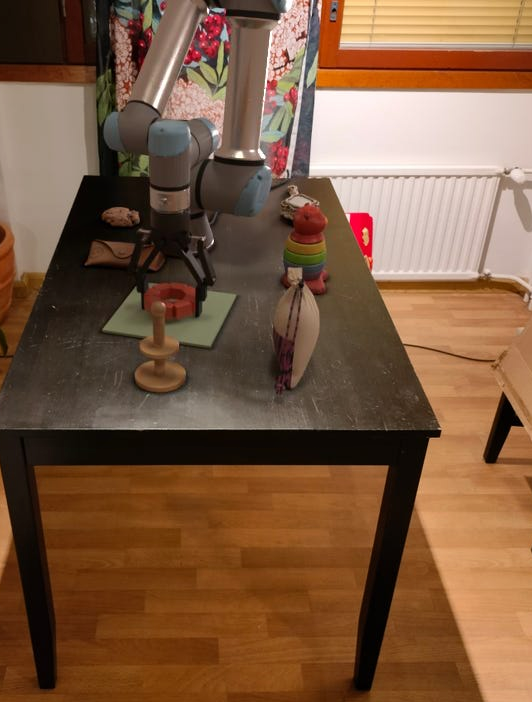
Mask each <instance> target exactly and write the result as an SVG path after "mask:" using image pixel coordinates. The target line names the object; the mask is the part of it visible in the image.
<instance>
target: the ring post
mask: <svg viewBox="0 0 532 702" xmlns="http://www.w3.org/2000/svg"><path fill="white" fill-rule="evenodd" d="M150 310H151V313H152V316H153V335H152V336H149V337H146V338H145V339H144V338H142V340H141V341H140V342H139V352H140V353H141V354H142V355H143V356H144V357H146V358H150V359H153V360H149V361H147V362H144V363H142V364H140V365H139V366H138V367H137V368H136V370H135V371H134V382H135V384H136V385H137V386H138V387H139V388H140V389H142V390H145V391H147V392H151V393H167V392H171V391H174V390H177V389H179V388H180V387H182V386H183V385H184V383H185V382H186V379H187V378H186V376H187V375H186V370H185V368H184V366H182V364H179V363H178V362H175V361H173V360H169V358H171V357H173V356H175V355H176V354H177V353H178V352H179V349H180V344H179V343H178V341H177V340H176V339H175V338H173V337H171V336H168V335H165V321H164V314H165V312H166V306H165V304H164V303H162V302H160V301H156V302H154V303H153V304H152V305H151V309H150Z"/></svg>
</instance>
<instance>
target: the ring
mask: <svg viewBox="0 0 532 702" xmlns="http://www.w3.org/2000/svg"><path fill="white" fill-rule="evenodd" d="M157 284H158V285H154V286H152V288H149V289H148V290H147V291H146V293H145V294H144V308H145V309H146V310H147V311H148V312H149V313H150V314H151V315H152V313H151V310H150V309H151V305H152V304H153V303H154V302H156V301H160V302H162V303H164V304H165V306H166V312H165V314H164V318H166V319H172V318H173V317H175V318H176V319H179V318H183V317H187V316H190V315H192V313H195V287H193V286H192V285H188V284H187V283H180V282H170V284H169V283H168V282H162V283H157ZM168 299H175V300H178V301H174V302H172V301H164V300H168Z"/></svg>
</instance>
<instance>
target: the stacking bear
mask: <svg viewBox="0 0 532 702" xmlns="http://www.w3.org/2000/svg"><path fill="white" fill-rule="evenodd" d="M292 224H293V225H292V226H293V230H292V231H291V232H290V234H288V236H287V238H286V241H285V245H284V248H283V252H282V262H283V263H282V264H283V268H284V273H283V275H282V278H281V281H282V284H283V285H284V286H285V287H287V288H288V289H289V288H290V287H291V284H290V283H289V282H288V276H287V272H288V268H289V267H291V268H302V280H304V281H305V283H306V286H307V287H308V289H309V290H310V291H311V293H312V294H313V295H320V294H324V293H325V292H326V290H327V287H326V284H325V282H324V281H326V280H328V272H327V270H325V269H324V267H325V264H326V260H327V248H326V240H325V235H324V233H323V231H324V230H325V229H327V226H328V224H329V220H328V218H327V217H326V216H325V215H324V213H322V211H321V209H320V207H319V208H318V207H316V206H312V205H309V202H307V203H305V205H304V206H302V207H300V208H299V209H297V211H296V212H295V213H294V216H293V220H292Z"/></svg>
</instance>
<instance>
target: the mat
mask: <svg viewBox="0 0 532 702" xmlns="http://www.w3.org/2000/svg"><path fill="white" fill-rule="evenodd" d="M158 284H159V283H154V282H149V288H152V286H154V285H158ZM236 298H237V294H235V293H229V292H228V293H227V292H220V291H215V290H214V291H213V290H207V298H206V300H205V301H204V302H202V313H201V314H200V316H199V317H195V313H192V315H190V316H187V317H183V318H179V319H176V318H175V317H173V318H172V319H166V318H164V321H165V335H168V336H171V337H173V338H175V339H176V340H177V341H178V343H179V345H184V346H189V347H198V348H204V349H211V348H212V345H213V344H214V342H215V340H216V338H217V335H218V333H219V332H220V330H221V328H222V326H223V324H224V322H225V320H226V318H227V315H228V314H229V312H230V310H231V308H232V306H233V304H234V302H235V300H236ZM164 301H172V302H174V301H178V300H175V299H168V300H164ZM101 332H102V333H104V334H112V335H119V336H124V337H131V338H138V339H145V338H146V337H149V336H152V335H153V316H152V315H151V314H150V313H149V312H148V311H147V310H146V309H145V310H143V309H142V307H141V293H138V292H137V289H136V286H135V287H134V288H133V289H132V291H131V292H130V293H129V294H128V296H127V297H126V298H125V299H124V300H123V302H122V303H121V305H119V307H118V308H117V309H116V311H115V312H114V314H113V315H112V316H111V318H110V319H109V320H108V321H107V322H106V324H105V325H104V327H102V329H101Z"/></svg>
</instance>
